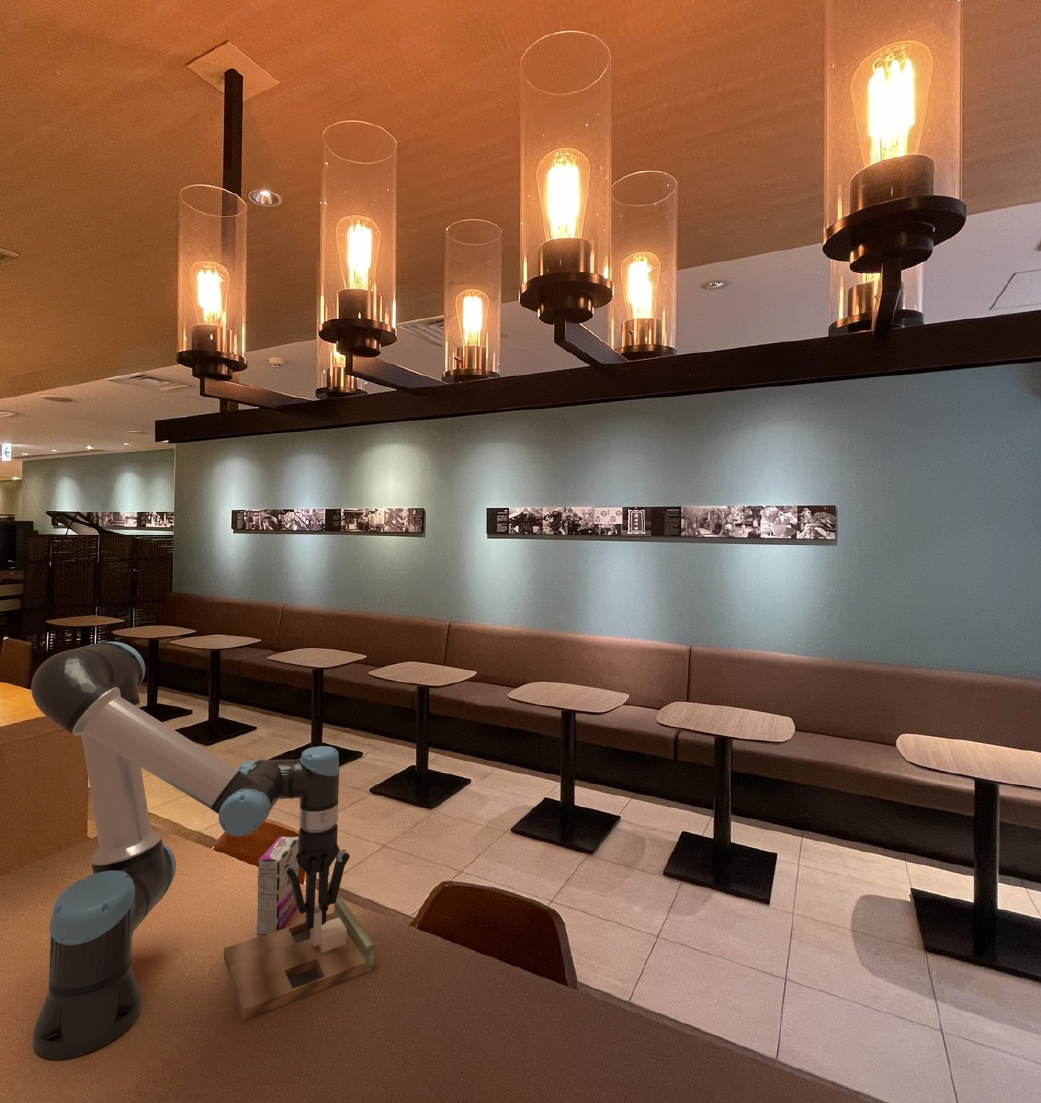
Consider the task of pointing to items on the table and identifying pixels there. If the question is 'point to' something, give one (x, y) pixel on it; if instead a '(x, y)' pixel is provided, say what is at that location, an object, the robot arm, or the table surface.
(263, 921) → the candy bar box
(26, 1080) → the table surface
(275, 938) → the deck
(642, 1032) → the table surface
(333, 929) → the block
